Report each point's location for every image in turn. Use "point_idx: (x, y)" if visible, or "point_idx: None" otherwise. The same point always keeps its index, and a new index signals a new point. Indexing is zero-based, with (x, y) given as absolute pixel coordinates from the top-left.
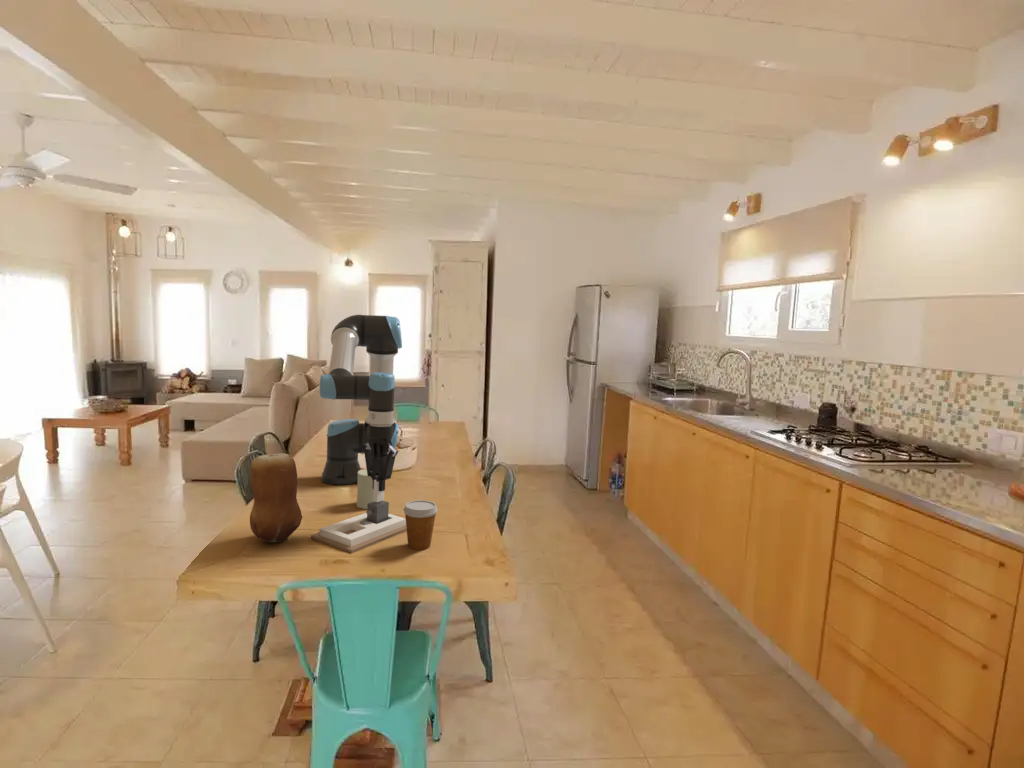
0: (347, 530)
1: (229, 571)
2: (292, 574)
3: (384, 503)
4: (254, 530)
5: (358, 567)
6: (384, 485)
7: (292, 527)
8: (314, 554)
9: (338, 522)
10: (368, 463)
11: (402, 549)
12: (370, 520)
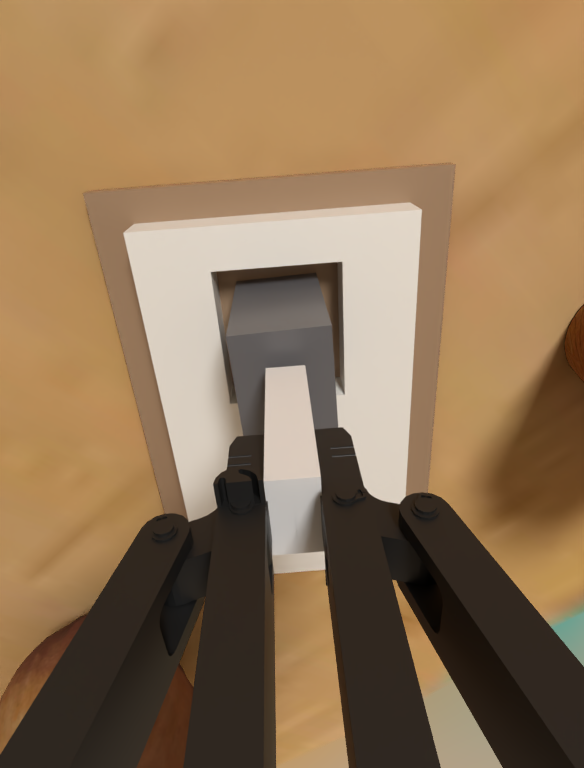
0: None
1: None
2: None
3: (330, 366)
4: None
5: (519, 582)
6: (355, 464)
7: (193, 688)
8: (325, 613)
9: (185, 499)
10: (143, 747)
11: (569, 408)
12: None
